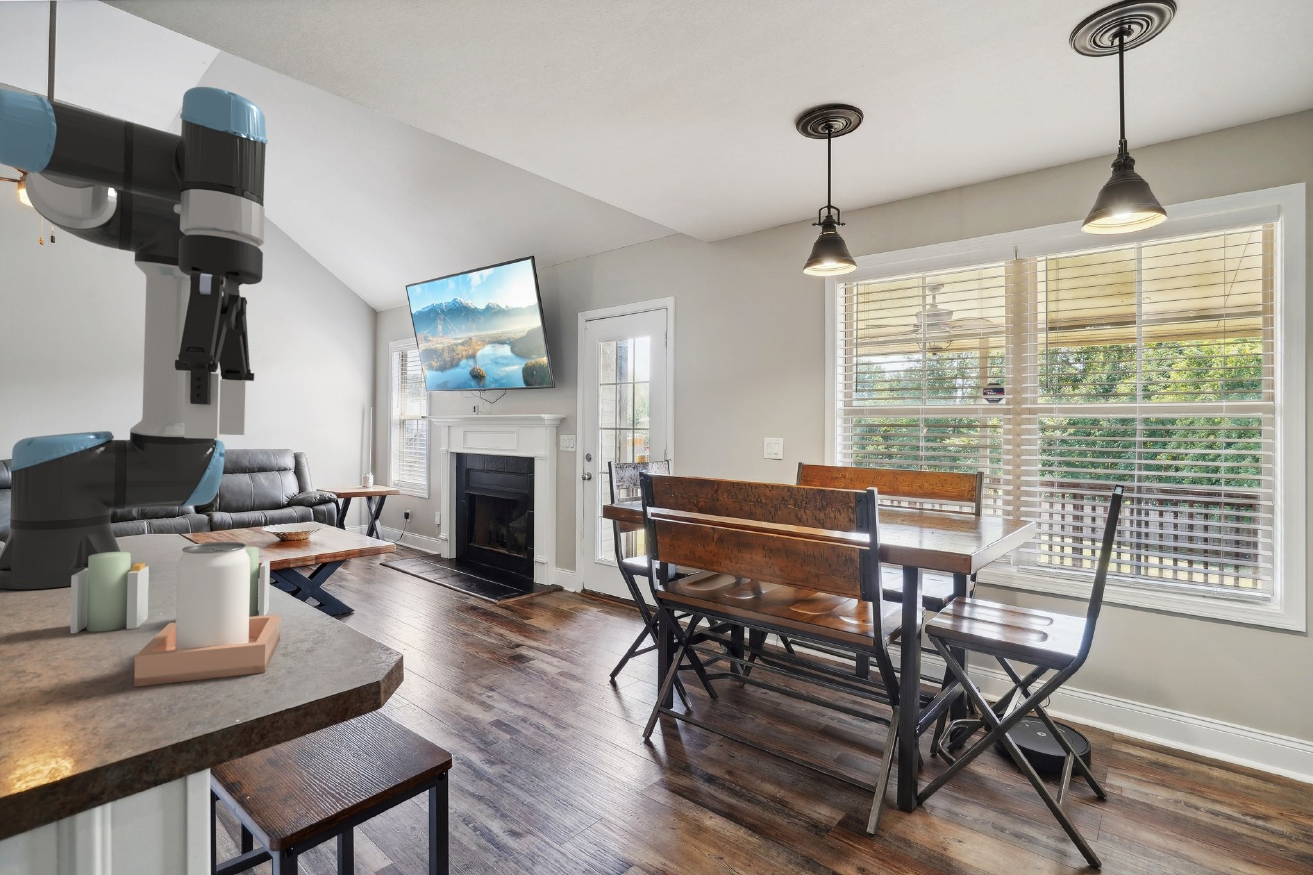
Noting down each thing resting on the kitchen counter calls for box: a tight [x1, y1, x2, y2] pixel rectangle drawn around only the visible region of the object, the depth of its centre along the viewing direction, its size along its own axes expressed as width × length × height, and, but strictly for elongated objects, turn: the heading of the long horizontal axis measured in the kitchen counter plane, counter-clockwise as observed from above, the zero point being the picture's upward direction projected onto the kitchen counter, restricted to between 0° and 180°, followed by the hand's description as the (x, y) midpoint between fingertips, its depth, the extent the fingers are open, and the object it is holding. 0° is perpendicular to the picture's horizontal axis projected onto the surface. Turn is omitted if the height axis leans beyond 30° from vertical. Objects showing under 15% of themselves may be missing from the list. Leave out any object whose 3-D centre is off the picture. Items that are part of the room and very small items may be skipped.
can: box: [175, 541, 250, 650], centre depth 67 cm, size 6×6×12 cm
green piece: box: [245, 546, 260, 617], centre depth 84 cm, size 4×4×9 cm
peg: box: [86, 551, 132, 632], centre depth 78 cm, size 4×4×9 cm
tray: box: [133, 613, 282, 688], centre depth 69 cm, size 11×11×3 cm
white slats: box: [69, 559, 271, 634], centre depth 81 cm, size 4×20×8 cm, turn 114°
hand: (217, 436), depth 68 cm, fingers open, 13 cm apart
